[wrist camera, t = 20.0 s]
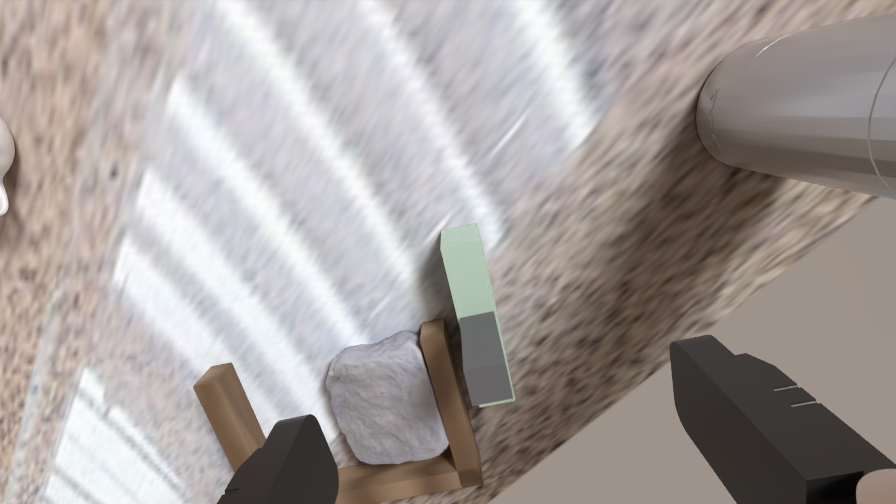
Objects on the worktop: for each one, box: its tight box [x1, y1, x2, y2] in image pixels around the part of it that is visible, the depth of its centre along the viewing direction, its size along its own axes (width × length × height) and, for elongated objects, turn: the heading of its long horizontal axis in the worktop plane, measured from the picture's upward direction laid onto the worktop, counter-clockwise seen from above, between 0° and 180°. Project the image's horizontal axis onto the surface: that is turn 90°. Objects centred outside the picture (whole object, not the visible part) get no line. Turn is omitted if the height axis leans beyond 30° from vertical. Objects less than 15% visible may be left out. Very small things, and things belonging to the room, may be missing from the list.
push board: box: [440, 223, 516, 408], centre depth 32 cm, size 14×3×12 cm, turn 13°
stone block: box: [325, 331, 449, 465], centre depth 39 cm, size 12×5×10 cm
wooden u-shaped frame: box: [193, 319, 483, 504], centre depth 40 cm, size 22×16×3 cm
